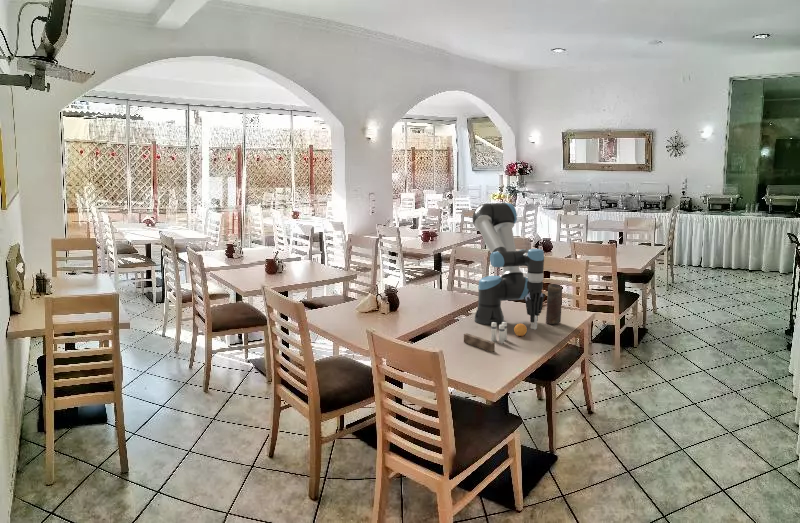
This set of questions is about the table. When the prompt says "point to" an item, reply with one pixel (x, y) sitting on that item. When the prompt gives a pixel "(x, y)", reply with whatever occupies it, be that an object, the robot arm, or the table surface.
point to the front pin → (505, 330)
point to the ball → (520, 329)
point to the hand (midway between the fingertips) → (533, 328)
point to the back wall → (479, 342)
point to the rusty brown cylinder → (554, 304)
